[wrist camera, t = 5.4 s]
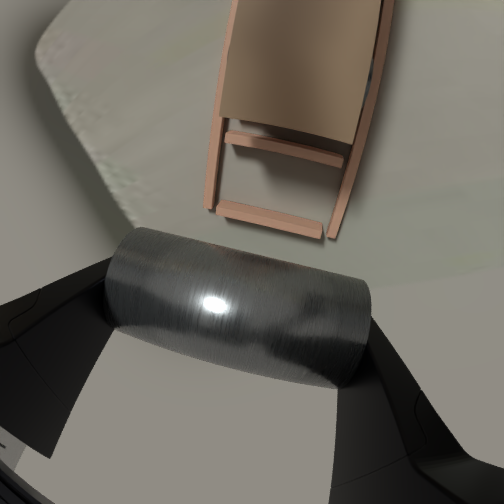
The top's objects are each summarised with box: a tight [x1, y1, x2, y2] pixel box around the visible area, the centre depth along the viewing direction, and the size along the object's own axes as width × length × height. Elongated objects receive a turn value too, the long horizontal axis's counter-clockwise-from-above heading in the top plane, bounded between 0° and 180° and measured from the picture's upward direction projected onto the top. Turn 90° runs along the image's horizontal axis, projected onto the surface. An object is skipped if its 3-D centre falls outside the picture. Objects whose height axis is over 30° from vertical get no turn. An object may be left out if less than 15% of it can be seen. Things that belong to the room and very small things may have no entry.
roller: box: [103, 227, 371, 389], centre depth 8 cm, size 4×7×4 cm, turn 81°
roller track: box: [203, 0, 394, 239], centre depth 13 cm, size 9×20×1 cm, turn 171°
